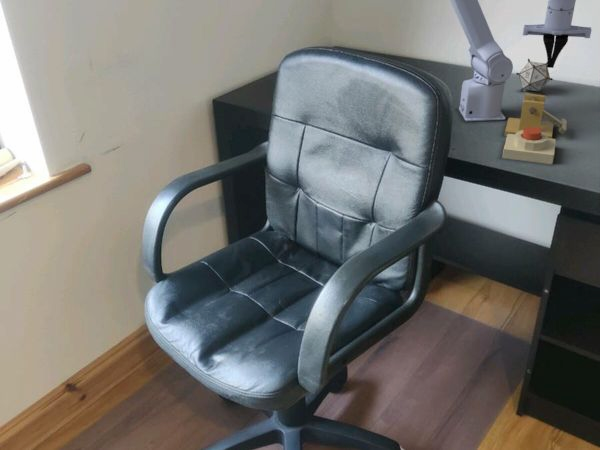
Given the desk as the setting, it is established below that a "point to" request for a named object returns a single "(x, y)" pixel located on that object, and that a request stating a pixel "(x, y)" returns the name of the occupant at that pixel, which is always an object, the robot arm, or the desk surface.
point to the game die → (534, 76)
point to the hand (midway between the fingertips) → (550, 66)
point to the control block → (529, 148)
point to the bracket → (530, 117)
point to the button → (531, 133)
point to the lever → (554, 119)
